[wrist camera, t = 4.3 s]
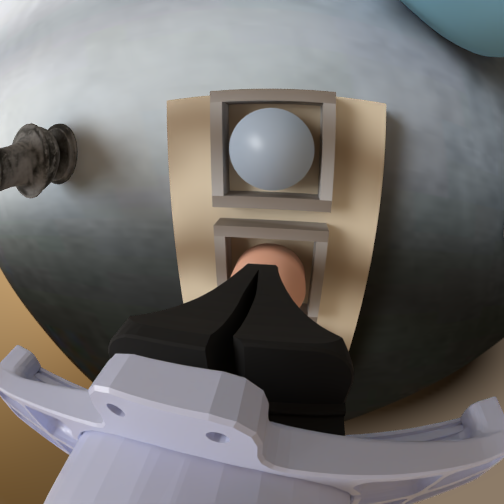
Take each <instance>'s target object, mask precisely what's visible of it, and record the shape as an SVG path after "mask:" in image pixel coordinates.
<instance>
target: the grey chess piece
mask: <svg viewBox="0 0 504 504" xmlns="http://www.w3.org/2000/svg"><path fill="white" fill-rule="evenodd" d="M76 161H77V145H76V140H75V137H74V134H73V133H72V131H71V129H70V128H68V127H67V126H66V125H64V124H55V125H53V126H51V127H50V128H49V129H48V130H47V129H44V128H42V127H38V126H37V125H35V124H26V125H24V126H23V127H22V128H21V129H20V130H19V131H18V133H17V134H16V136H15V138H14V140H13V144H12V145H10V146H8V147H4V148H0V191H2V190H4V189H7V188H10V187H13V186H16V187H17V189H18V191H19V192H20V193H21V194H22V195H24V196H25V197H27V198H34V197H37V196H38V195H39V194H40V193H41V192H42V190H44V189H45V188H46V187H47V186H48V185H49V184H50V183H51V182H52V183H54V184H61V183H64V182H66V181H67V180H68V179H69V178H70V176H71V175H72V174H73V171H74V169H75V166H76Z"/></svg>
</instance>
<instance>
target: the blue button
mask: <svg viewBox="0 0 504 504" xmlns="http://www.w3.org/2000/svg"><path fill="white" fill-rule="evenodd" d="M229 155H230V159H231V162H232V165H233V167H234V169H235V170H236V172H237V173H238V175H239V176H240V177H241V178H242V179H243V180H244V181H246V182H247V183H249V184H250V185H252V186H254V187H256V188H259V189H263V190H270V191H274V190H282V189H286V188H288V187H291V186H293V185H295V184H296V183H298V182H299V181H300V180H301V179H302V178H303V177H304V176H305V175H306V174H307V172H308V171H309V169H310V167H311V165H312V162H313V158H314V141H313V138H312V135H311V133H310V130H309V129H308V127H307V126H306V124H305V123H304V122H303V121H302V120H301V119H300V118H299V117H297V116H296V115H294V114H293V113H291V112H289V111H286V110H283V109H278V108H264V109H259V110H256V111H254V112H252V113H250V114H248V115H246V116H245V117H244V118H243V119H242V120H241V121H240V122H239V123H238V124H237V125H236V127H235V128H234V130H233V132H232V135H231V138H230V143H229Z"/></svg>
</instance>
